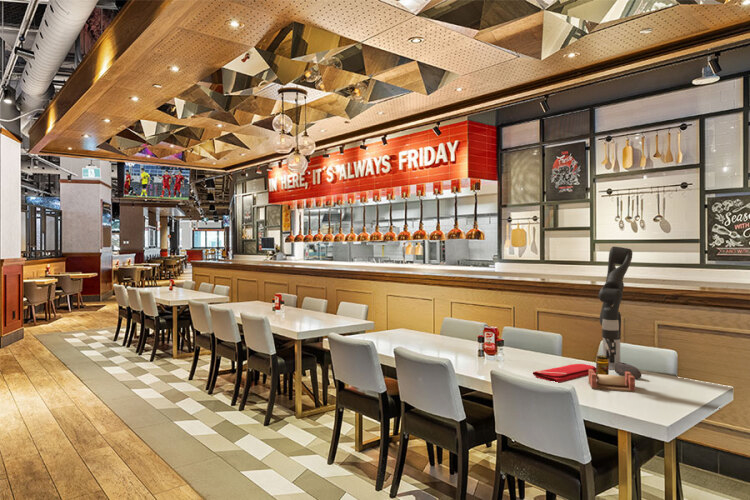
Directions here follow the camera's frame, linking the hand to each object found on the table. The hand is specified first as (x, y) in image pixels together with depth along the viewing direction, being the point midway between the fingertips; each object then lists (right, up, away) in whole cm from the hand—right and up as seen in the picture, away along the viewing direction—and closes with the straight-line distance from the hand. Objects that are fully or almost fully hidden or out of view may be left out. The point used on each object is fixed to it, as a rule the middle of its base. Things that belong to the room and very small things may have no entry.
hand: (610, 360), depth 239 cm
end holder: (0, -13, 0) cm, 13 cm away
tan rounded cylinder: (0, -12, 0) cm, 12 cm away
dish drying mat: (-11, -14, +25) cm, 31 cm away
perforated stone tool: (+19, -14, +19) cm, 30 cm away
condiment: (+3, -14, +17) cm, 22 cm away
